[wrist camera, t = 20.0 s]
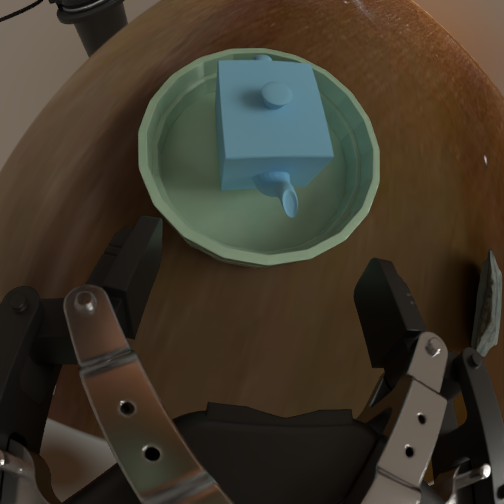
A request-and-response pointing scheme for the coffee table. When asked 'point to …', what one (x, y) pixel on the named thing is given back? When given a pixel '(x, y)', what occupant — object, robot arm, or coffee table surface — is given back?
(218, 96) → the teapot
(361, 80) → the coffee table surface
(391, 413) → the robot arm
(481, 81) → the coffee table surface
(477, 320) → the stone
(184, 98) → the serving bowl
